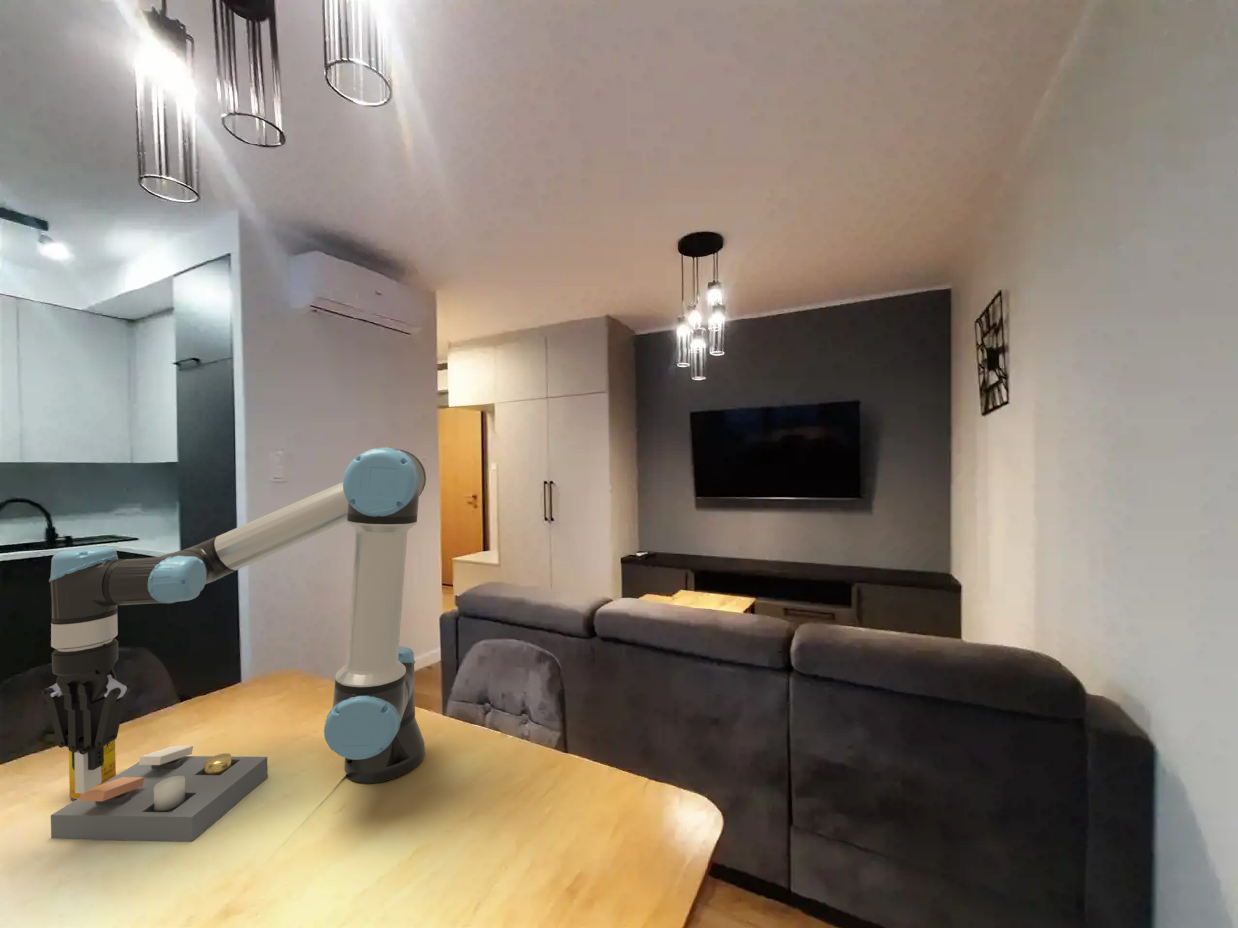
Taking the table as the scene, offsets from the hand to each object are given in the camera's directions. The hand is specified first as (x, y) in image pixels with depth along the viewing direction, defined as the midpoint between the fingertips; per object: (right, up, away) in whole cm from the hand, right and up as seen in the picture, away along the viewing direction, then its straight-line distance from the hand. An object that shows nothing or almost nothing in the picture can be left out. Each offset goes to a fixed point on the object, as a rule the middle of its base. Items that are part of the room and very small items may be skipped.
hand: (88, 787), depth 84 cm
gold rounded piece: (+11, -7, +13) cm, 18 cm away
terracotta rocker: (0, -3, +4) cm, 5 cm away
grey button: (+10, -5, +3) cm, 12 cm away
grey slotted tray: (+6, -9, +9) cm, 13 cm away
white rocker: (+1, -3, +14) cm, 14 cm away
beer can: (-12, -9, +13) cm, 20 cm away
